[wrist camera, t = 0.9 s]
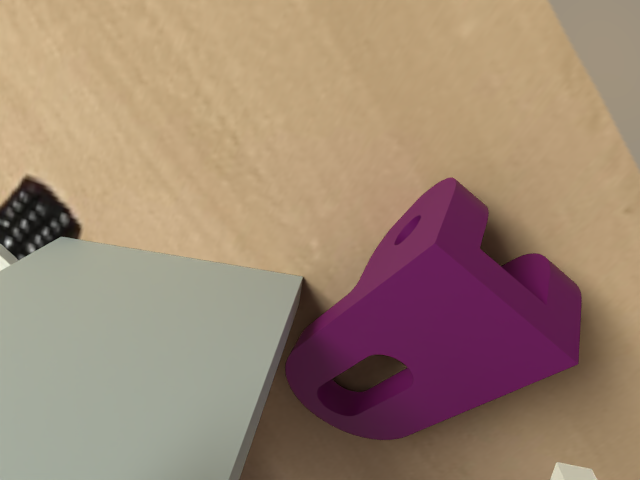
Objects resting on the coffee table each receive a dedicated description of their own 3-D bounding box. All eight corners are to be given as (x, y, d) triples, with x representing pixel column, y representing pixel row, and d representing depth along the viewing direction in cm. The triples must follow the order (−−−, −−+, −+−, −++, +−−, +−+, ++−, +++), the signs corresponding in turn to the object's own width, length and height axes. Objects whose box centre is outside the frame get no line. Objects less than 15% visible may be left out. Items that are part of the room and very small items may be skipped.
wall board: (281, 440, 42) (160, 895, 19) (65, 400, 43) (-293, 788, 20) (302, 276, 37) (178, 615, 15) (61, 236, 38) (-402, 495, 16)
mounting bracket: (397, 364, 45) (584, 258, 33) (365, 453, 39) (579, 364, 27) (308, 292, 44) (467, 155, 32) (261, 373, 38) (435, 242, 26)
